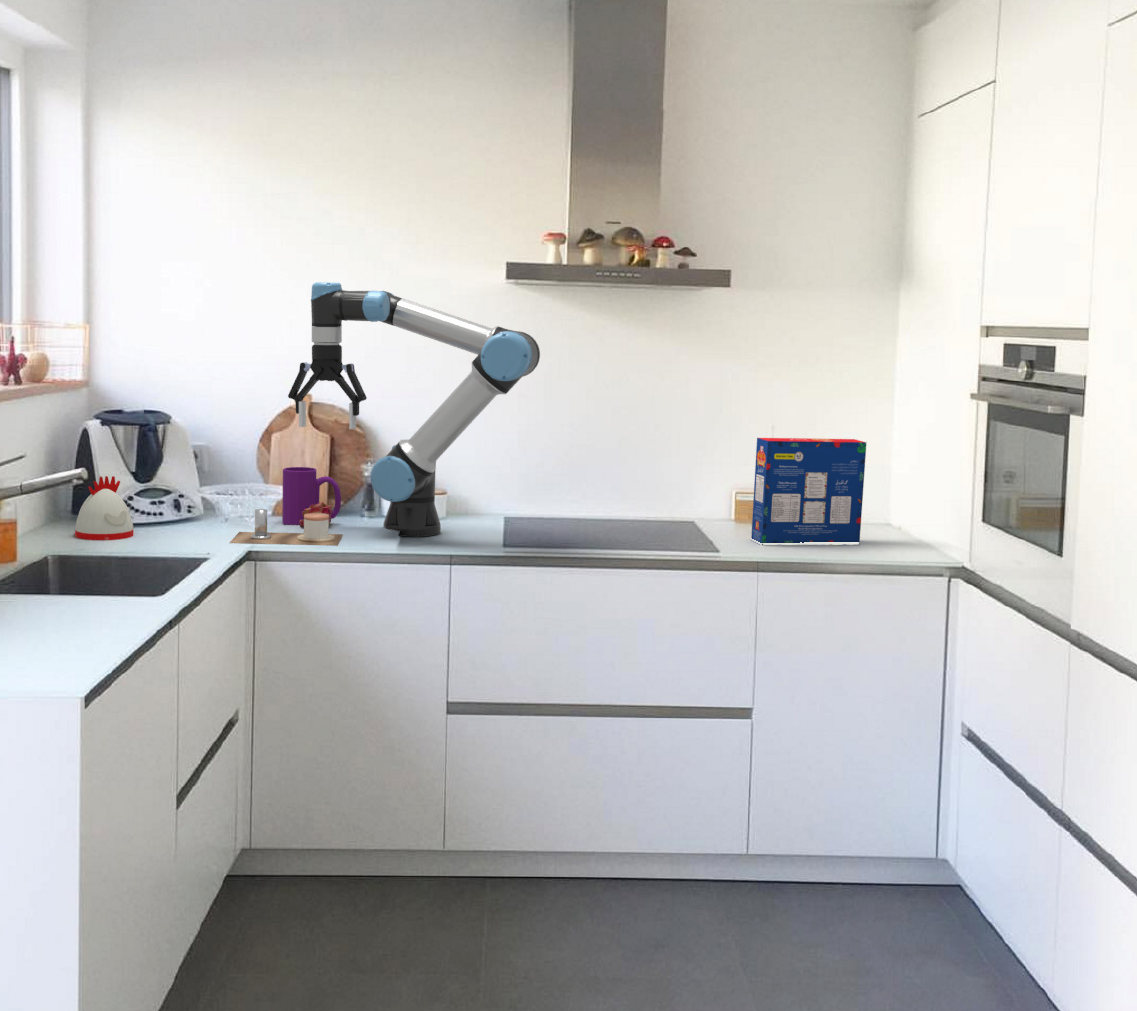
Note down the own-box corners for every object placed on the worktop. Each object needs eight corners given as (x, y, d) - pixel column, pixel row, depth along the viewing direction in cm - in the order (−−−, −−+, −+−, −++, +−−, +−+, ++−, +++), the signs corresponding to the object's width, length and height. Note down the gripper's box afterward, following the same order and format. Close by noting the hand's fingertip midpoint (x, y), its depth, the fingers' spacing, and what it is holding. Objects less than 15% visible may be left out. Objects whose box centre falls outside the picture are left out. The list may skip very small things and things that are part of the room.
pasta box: (847, 540, 385) (853, 439, 381) (859, 545, 378) (866, 442, 374) (751, 540, 379) (757, 437, 375) (761, 545, 371) (767, 440, 367)
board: (343, 540, 356) (343, 534, 355) (337, 551, 340) (337, 545, 340) (239, 537, 353) (239, 531, 353) (229, 549, 338) (229, 543, 337)
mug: (283, 521, 381) (284, 466, 379) (341, 522, 383) (342, 467, 381) (280, 526, 372) (281, 470, 370) (340, 527, 374) (340, 472, 372)
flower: (346, 526, 366) (335, 499, 369) (326, 523, 358) (315, 496, 360) (318, 543, 370) (307, 517, 372) (298, 541, 361) (287, 514, 363)
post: (272, 536, 349) (272, 508, 348) (269, 539, 344) (270, 511, 343) (252, 535, 348) (252, 508, 347) (249, 539, 343) (249, 511, 342)
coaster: (336, 536, 352) (336, 534, 352) (332, 542, 343) (332, 540, 343) (299, 535, 351) (299, 533, 351) (295, 541, 342) (295, 539, 342)
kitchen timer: (143, 537, 350) (143, 477, 348) (92, 542, 340) (91, 481, 338) (115, 529, 359) (115, 471, 357) (64, 534, 349) (64, 474, 347)
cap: (327, 539, 344) (327, 517, 343) (302, 538, 344) (302, 516, 343) (329, 535, 350) (329, 513, 349) (305, 534, 350) (305, 512, 349)
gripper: (378, 344, 355) (378, 428, 358) (286, 342, 360) (287, 424, 363) (368, 345, 348) (368, 430, 351) (274, 343, 353) (275, 427, 356)
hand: (327, 427), depth 357 cm, fingers open, 13 cm apart
